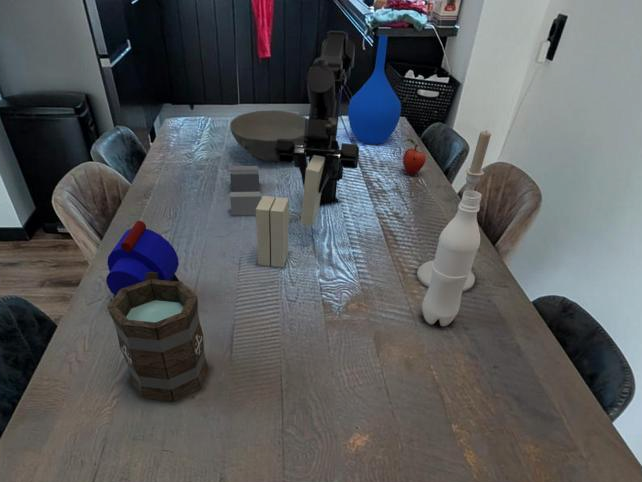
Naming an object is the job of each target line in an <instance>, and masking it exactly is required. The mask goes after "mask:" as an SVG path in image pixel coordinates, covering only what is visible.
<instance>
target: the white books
mask: <svg viewBox="0 0 642 482" xmlns="http://www.w3.org/2000/svg"><path fill="white" fill-rule="evenodd" d="M255 219H256V221H255V222H256V242H257V243H256V244H257V245H256V246H257V265H258V266H267V267H270V266H271V267H274V268H284V266H285V264H286V261H287V259H288V255H289V247H290V246H289V245H290V244H289V241H290V240H289V238H290V236H289V232H290V231H289V230H290V227H289V226H290V198H289V197H281V196H270V195H261V200H260V202H259V204H258V206H257V208H256V215H255Z"/></svg>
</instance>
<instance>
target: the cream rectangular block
mask: <svg viewBox="0 0 642 482" xmlns="http://www.w3.org/2000/svg"><path fill="white" fill-rule="evenodd" d="M324 162H325V157H322V156H317V155H314V156H313V157H312V159H311V161H310V163H309V162H308V164H307V168H306V174H305V184H304V188H303V194H302V195H303V196H302V206H301V213H300V225H303V226H306V227H313V225H314V223H315V220H316V218H317V216H318V214H319V211H320V206H321V205H320V198H321V193H319V184H320V180H321V176H322V172H323V167H324Z"/></svg>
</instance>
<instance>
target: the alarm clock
mask: <svg viewBox="0 0 642 482" xmlns="http://www.w3.org/2000/svg"><path fill="white" fill-rule="evenodd" d="M106 263H107V268H108V271H109V272H108V274H107V275H106V278H105V282H106V286H107V288H108V290H109V291H110V293H112V295H113V298H114V297H115V296H116V295H117V293H118V292H119V290H120V289H122V288H125V287H128V286H131V285H134V284H137V283H140V282H143V281H145V275H146V273H148V272H157V273H158V276H159V280H167V281H178V282H181V281H180V280H179V278H178V276H177V275H176V272H177V271H178V268H179V265H180V264H179V263H180V262H179V256H178V254H177V251H176V249H175V248H174V247H173V245H172V244H171V243H170V242H169V241H168V240H167V239H166V238H165V237H164V236H163V235H161V234H159V233H158V232H156V231H154V230H151V229H148V228H147V225H146V223H145V222H144V221H142V220H137V221H136V222H135V223H134V225H133V226H132V227H131V228H130V229H127V230H126V231H125V232H124V233H123V235H122V236H121V237H120V238H119V240H118V242H117V243H116V245H115V246H114V247H113V249H112V250H111V252H110V253H109V255H108V256H107V262H106Z"/></svg>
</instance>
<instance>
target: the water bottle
mask: <svg viewBox="0 0 642 482" xmlns="http://www.w3.org/2000/svg"><path fill="white" fill-rule="evenodd" d="M463 193H464V194H463ZM463 193H462V197H461V200H462V201H461V200H460V202H459V204H458V206H457V212H456V214H455V215H454V216H453V218H452V219H451V220H450V221H449V222H448V224H447V225H445V227H444V228H443V229H442V231H441V232H440V235H439V237H438V241H437V242H438V243H437V247H436V251H435V255H434V259H433V260H434V263H433V265H432V276H431V281H430V285H429V287H427V291H426V293H425V296H424V298H423V299H422V304H421V313H422V316H423V318H424V320H425V322H426V323H428V324H429V325H434V324H435V323H436V322H437V321H439V326H441V327H446V326H449V325H450V324H451V323H452V322H453V320H454V319H455V318H456V316H457V315H458V313H459V311H460V307H461V299H462V294H463V292H464V291H463V288H464V285H465V282H466V280H467V278H468V276H469V274H470V273H471V272H472V269H473V265H474V262H475V259H476V256H477V253H478V250H479V248H480V244H481V233H480V228H479V223H478V212H480V206H481V201H482V197H483V196H482V195H483V194H482V193H480V192H479V191H475V190H474V191H465V192H464V191H463ZM458 209H459V210H458ZM462 291H463V292H462Z"/></svg>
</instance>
